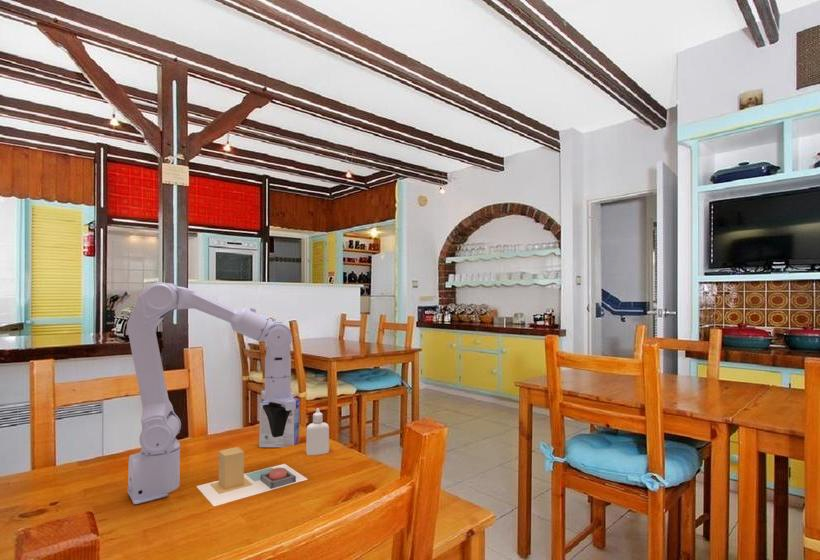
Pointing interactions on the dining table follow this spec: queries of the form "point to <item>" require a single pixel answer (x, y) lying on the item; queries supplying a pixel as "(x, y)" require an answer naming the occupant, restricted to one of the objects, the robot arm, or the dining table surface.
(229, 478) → the ochre block
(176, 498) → the dining table surface
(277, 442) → the ink cartridge box
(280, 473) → the button
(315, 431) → the eye dropper bottle
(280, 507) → the dining table surface
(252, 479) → the white board with squares
